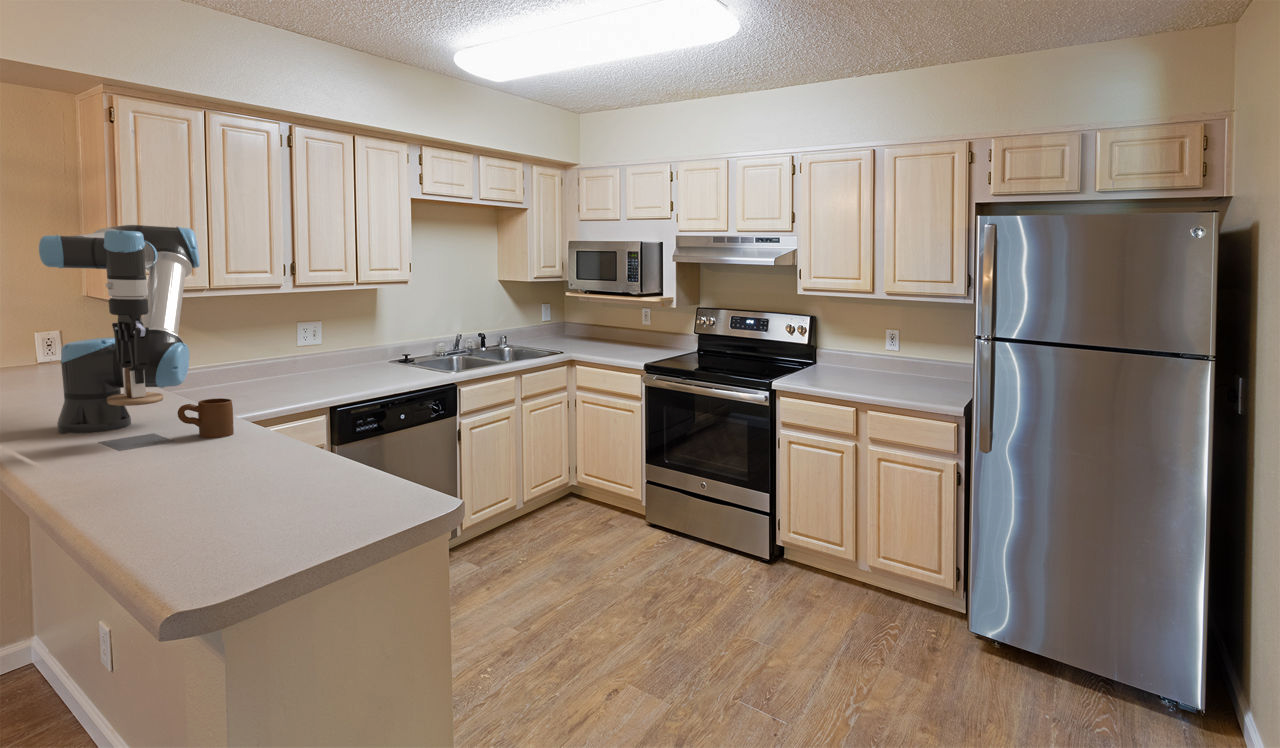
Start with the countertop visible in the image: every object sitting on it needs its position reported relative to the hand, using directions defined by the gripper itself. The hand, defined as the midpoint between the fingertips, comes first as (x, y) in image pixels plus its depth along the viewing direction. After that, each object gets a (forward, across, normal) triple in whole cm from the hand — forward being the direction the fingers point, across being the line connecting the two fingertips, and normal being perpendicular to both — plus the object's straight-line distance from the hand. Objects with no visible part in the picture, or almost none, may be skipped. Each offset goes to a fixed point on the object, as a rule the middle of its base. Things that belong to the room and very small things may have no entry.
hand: (135, 395), depth 169 cm
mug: (+12, +6, +13) cm, 19 cm away
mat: (+12, +1, 0) cm, 12 cm away
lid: (+1, 0, 0) cm, 1 cm away
